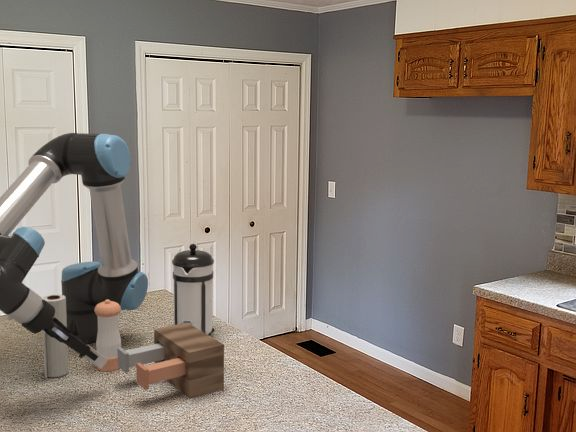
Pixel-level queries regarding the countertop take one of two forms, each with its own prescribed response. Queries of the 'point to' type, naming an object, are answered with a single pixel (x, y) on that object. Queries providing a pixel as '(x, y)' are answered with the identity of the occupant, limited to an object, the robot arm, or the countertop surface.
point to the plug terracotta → (159, 371)
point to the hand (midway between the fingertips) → (103, 363)
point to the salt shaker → (108, 333)
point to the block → (193, 358)
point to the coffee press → (193, 288)
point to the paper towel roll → (55, 341)
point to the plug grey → (140, 356)
